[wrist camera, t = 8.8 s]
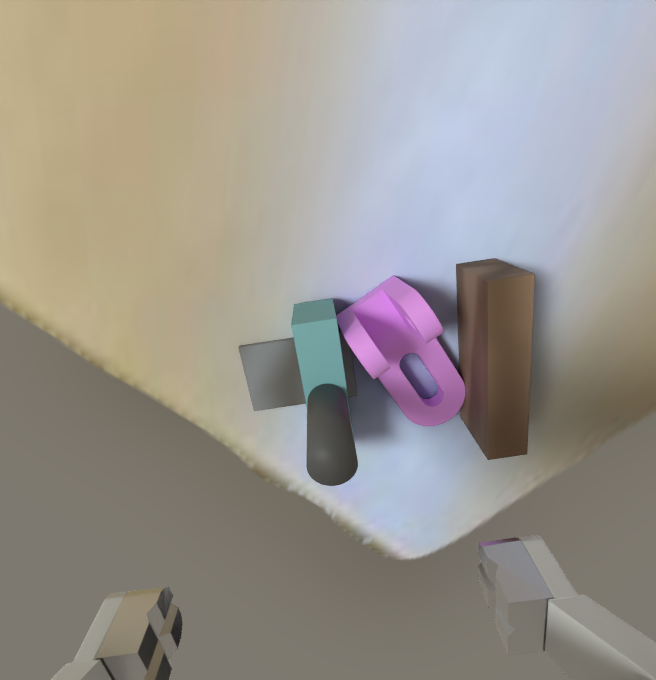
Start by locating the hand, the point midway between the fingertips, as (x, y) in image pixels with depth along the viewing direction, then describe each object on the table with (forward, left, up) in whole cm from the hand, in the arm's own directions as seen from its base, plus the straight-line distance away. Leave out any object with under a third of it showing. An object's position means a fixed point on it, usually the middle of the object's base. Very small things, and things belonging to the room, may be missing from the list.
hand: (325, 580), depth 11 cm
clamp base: (-3, +5, -23) cm, 24 cm away
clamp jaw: (0, +5, -23) cm, 24 cm away
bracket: (-7, +5, -23) cm, 25 cm away
